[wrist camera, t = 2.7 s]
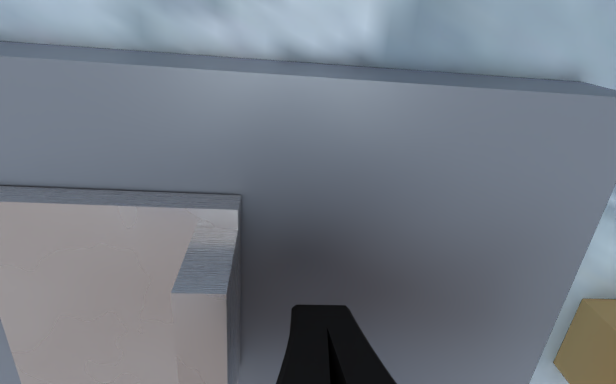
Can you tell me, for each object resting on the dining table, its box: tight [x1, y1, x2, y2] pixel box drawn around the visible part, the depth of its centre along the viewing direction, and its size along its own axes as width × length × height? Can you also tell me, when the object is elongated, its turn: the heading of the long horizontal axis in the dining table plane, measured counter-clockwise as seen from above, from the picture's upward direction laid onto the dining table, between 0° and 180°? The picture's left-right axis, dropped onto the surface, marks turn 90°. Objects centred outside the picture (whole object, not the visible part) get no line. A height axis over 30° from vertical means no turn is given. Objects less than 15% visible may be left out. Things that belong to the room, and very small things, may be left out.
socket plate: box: [0, 41, 616, 384], centre depth 13 cm, size 14×22×2 cm, turn 86°
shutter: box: [0, 186, 241, 384], centre depth 10 cm, size 6×6×3 cm
